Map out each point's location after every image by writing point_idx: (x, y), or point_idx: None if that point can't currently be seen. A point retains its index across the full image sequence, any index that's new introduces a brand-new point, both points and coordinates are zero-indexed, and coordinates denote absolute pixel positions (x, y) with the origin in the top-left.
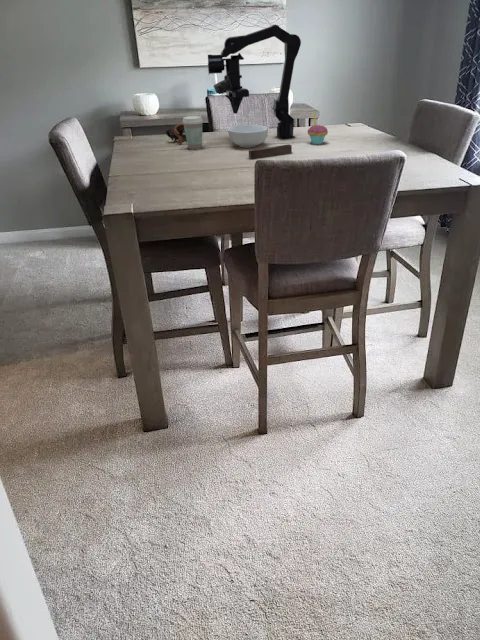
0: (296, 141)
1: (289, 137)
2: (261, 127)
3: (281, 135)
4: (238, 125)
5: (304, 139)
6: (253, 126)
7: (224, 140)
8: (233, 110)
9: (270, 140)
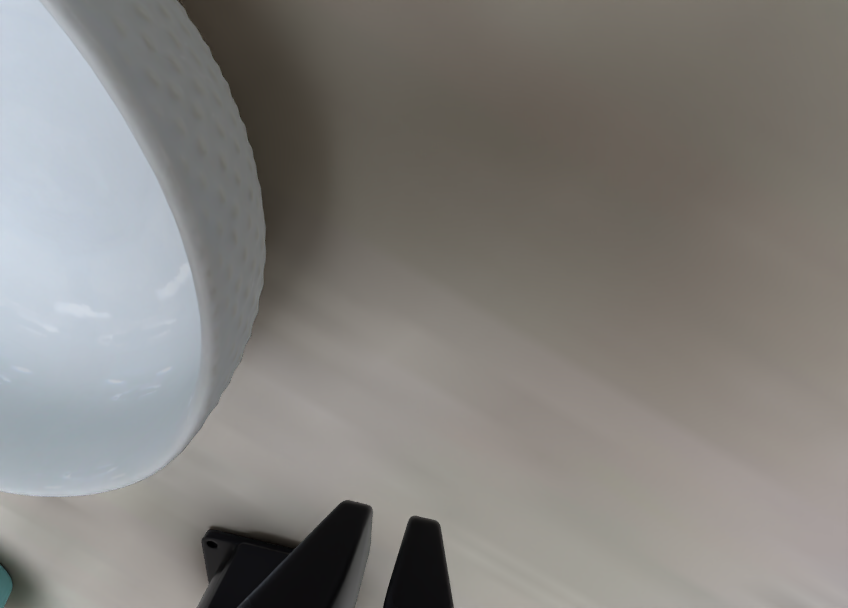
0: (88, 537)
1: (209, 580)
2: (57, 467)
3: (226, 564)
4: (189, 263)
5: (135, 602)
6: (157, 442)
7: (651, 33)
8: (392, 583)
9: (232, 451)
